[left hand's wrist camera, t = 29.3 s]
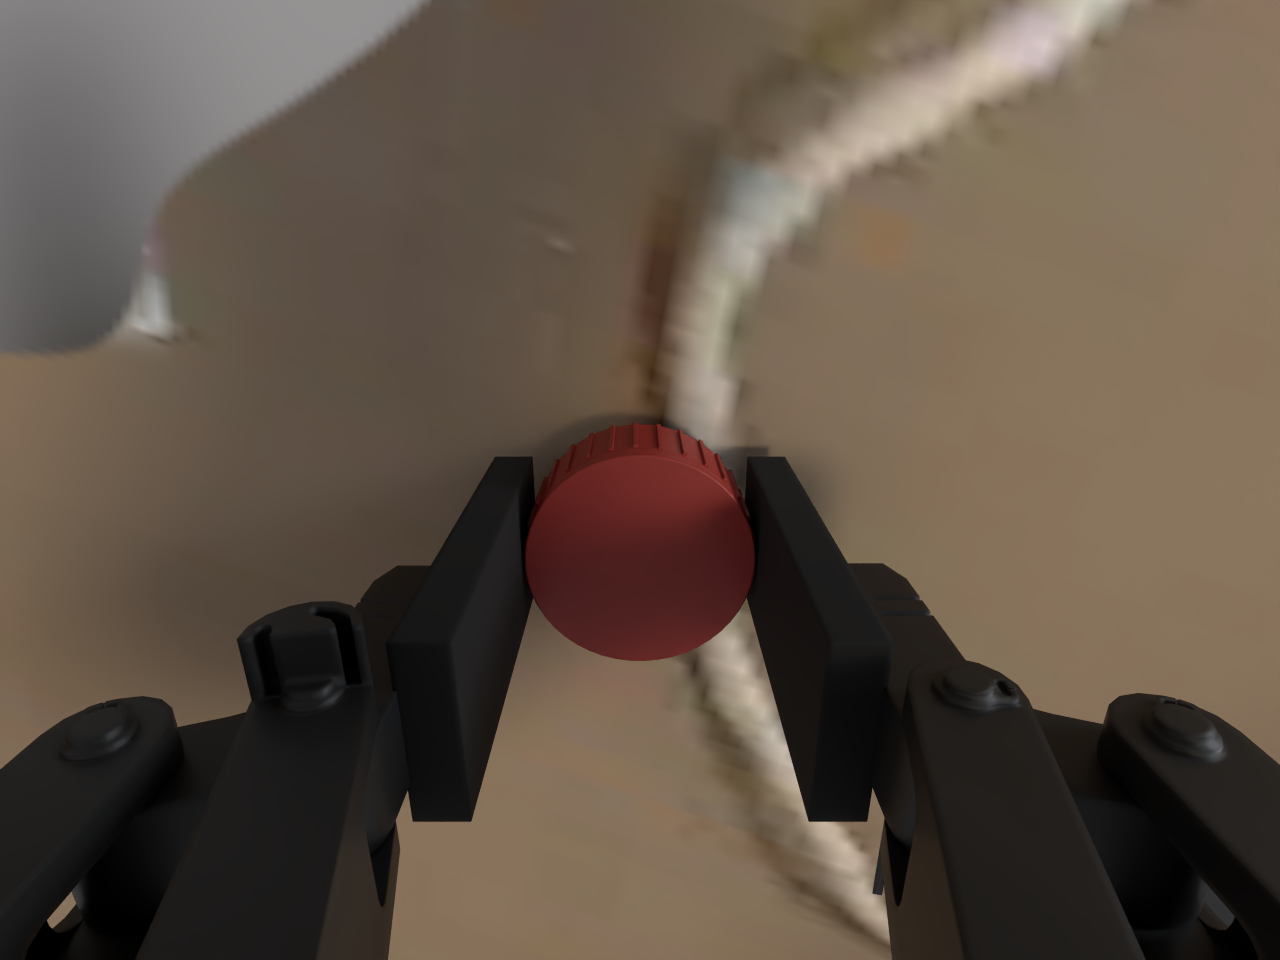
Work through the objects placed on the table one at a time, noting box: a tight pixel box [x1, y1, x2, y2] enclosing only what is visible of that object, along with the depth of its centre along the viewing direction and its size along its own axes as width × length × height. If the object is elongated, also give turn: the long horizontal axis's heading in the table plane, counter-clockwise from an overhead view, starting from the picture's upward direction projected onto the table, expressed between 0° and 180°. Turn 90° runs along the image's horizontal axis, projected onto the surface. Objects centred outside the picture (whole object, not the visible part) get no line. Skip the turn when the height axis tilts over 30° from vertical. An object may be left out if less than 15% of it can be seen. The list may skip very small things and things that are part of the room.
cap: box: [525, 423, 756, 661], centre depth 14 cm, size 4×4×2 cm
